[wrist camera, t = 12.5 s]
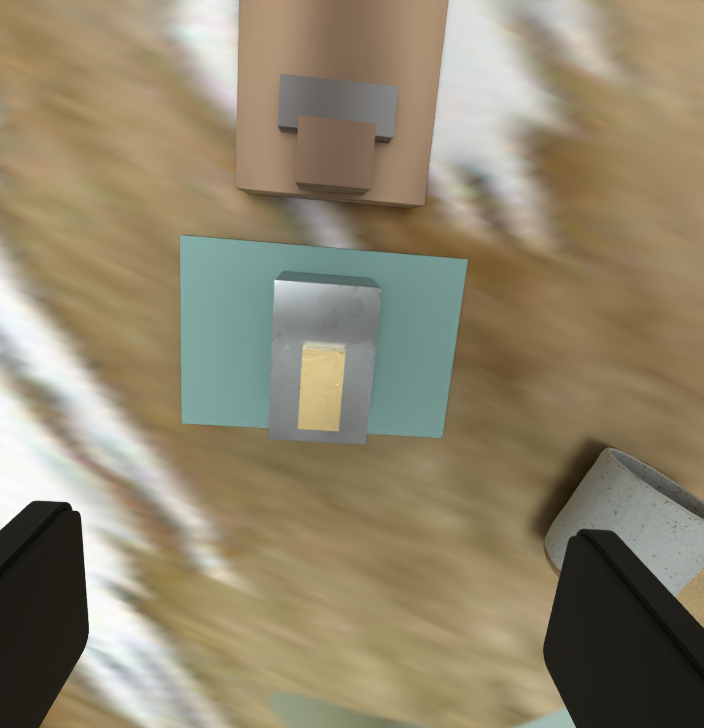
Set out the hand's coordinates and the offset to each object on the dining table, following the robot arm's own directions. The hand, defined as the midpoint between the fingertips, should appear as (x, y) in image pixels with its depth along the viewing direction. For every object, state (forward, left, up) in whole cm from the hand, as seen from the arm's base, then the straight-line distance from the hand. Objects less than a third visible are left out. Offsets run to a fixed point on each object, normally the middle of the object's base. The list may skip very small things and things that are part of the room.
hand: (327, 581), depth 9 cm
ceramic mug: (-20, +10, -21) cm, 31 cm away
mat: (0, 0, -21) cm, 21 cm away
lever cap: (0, 0, -20) cm, 20 cm away
